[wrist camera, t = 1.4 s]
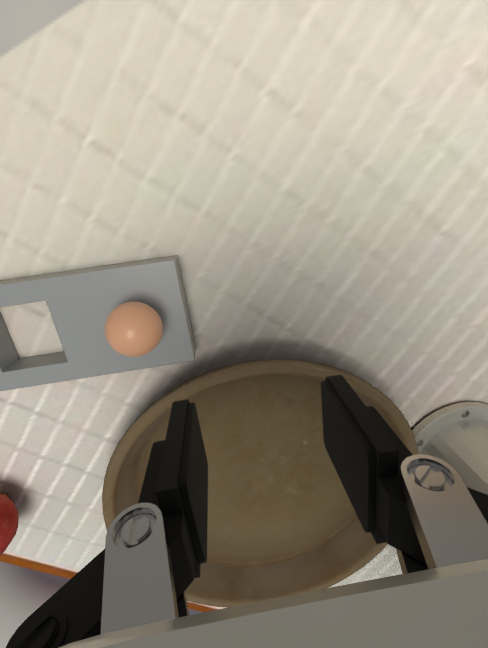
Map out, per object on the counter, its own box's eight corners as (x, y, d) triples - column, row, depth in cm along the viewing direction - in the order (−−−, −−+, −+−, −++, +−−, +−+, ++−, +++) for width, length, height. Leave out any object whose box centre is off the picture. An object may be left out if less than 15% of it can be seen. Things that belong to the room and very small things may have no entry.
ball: (170, 339, 26) (164, 361, 22) (121, 346, 26) (106, 370, 22) (160, 291, 25) (151, 307, 21) (107, 299, 25) (88, 316, 21)
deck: (195, 348, 29) (194, 360, 27) (15, 376, 29) (-2, 391, 26) (177, 255, 26) (173, 260, 24) (-25, 284, 26) (-48, 291, 23)
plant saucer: (454, 434, 36) (486, 464, 32) (284, 596, 43) (292, 639, 39) (226, 277, 28) (228, 290, 23) (60, 512, 35) (39, 555, 30)
